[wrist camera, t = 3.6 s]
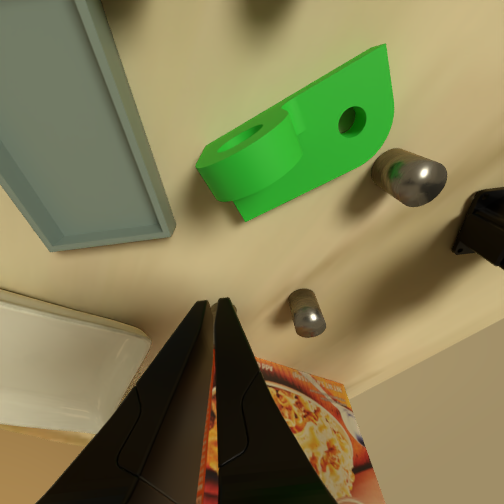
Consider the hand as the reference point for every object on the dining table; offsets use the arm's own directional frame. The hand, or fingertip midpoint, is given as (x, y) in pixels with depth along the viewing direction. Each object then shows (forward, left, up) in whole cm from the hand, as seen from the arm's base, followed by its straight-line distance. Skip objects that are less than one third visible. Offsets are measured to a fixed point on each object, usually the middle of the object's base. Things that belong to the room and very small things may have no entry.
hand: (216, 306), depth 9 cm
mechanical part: (-6, -3, -13) cm, 14 cm away
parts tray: (+10, -6, -12) cm, 17 cm away
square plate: (+29, +17, -13) cm, 36 cm away
